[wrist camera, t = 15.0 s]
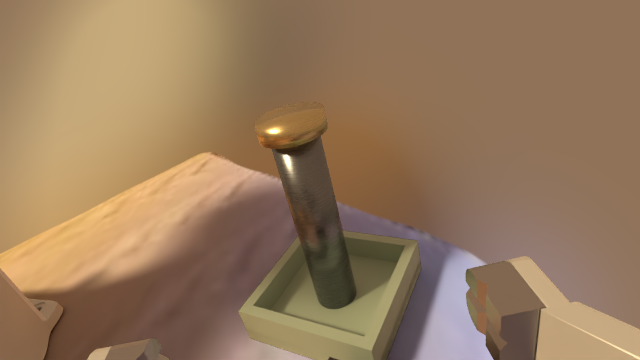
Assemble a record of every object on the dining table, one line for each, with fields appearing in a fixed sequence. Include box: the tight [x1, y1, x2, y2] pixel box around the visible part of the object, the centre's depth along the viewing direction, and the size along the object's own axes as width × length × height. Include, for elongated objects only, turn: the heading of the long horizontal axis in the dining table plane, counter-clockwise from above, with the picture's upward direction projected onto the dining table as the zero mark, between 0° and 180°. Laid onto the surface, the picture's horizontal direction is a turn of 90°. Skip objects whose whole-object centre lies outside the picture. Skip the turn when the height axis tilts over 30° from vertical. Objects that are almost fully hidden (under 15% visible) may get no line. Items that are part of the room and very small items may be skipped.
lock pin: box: [254, 102, 357, 309], centre depth 27 cm, size 4×4×15 cm
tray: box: [238, 231, 421, 360], centre depth 30 cm, size 11×11×3 cm
